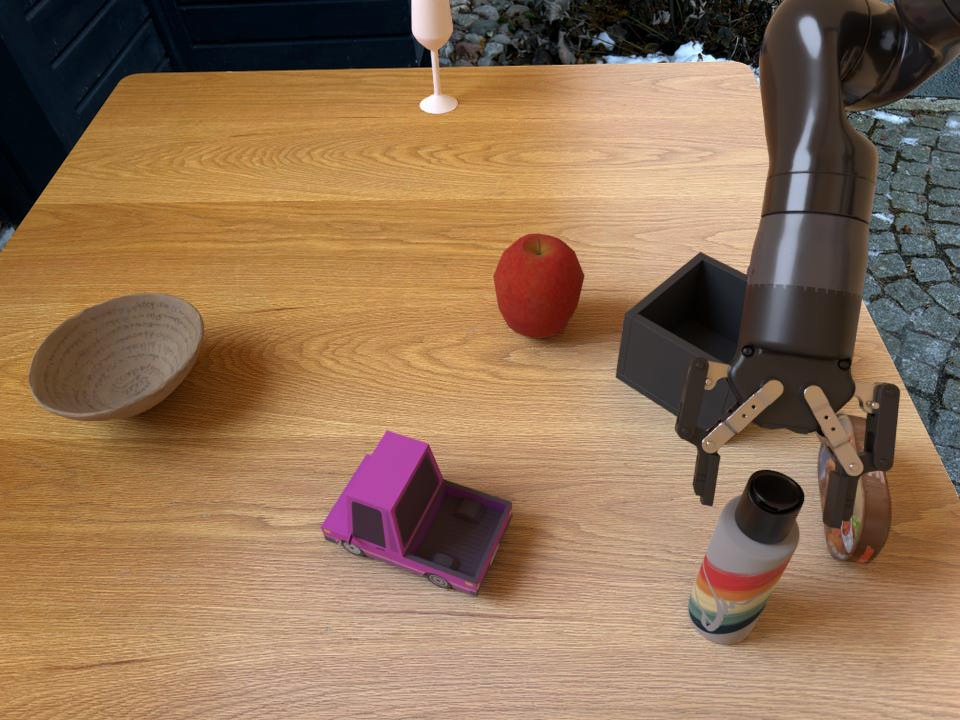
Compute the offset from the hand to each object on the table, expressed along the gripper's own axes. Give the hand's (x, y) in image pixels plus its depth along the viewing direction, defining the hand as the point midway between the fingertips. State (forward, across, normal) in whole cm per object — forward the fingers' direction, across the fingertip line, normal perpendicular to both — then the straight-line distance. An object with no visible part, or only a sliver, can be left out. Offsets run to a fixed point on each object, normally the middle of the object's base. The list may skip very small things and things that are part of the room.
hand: (768, 514), depth 53 cm
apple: (-11, -22, +36) cm, 43 cm away
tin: (+3, +11, +22) cm, 25 cm away
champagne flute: (-48, -49, +72) cm, 99 cm away
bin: (-8, -2, +33) cm, 34 cm away
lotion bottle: (+12, 0, +13) cm, 17 cm away
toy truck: (+10, -28, +14) cm, 33 cm away
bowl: (+3, -65, +22) cm, 68 cm away
